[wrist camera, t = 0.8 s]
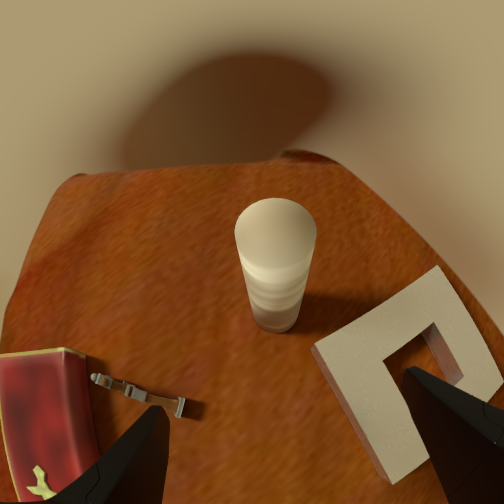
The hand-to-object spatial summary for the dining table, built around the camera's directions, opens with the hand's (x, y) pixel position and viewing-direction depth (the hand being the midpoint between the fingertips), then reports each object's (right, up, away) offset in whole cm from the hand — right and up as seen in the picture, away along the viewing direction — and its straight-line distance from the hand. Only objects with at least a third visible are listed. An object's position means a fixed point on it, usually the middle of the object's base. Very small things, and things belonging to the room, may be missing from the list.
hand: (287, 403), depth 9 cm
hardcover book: (-21, -16, +10) cm, 28 cm away
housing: (+13, -6, +12) cm, 19 cm away
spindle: (+1, 0, +16) cm, 16 cm away
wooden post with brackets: (-11, -8, +13) cm, 19 cm away
